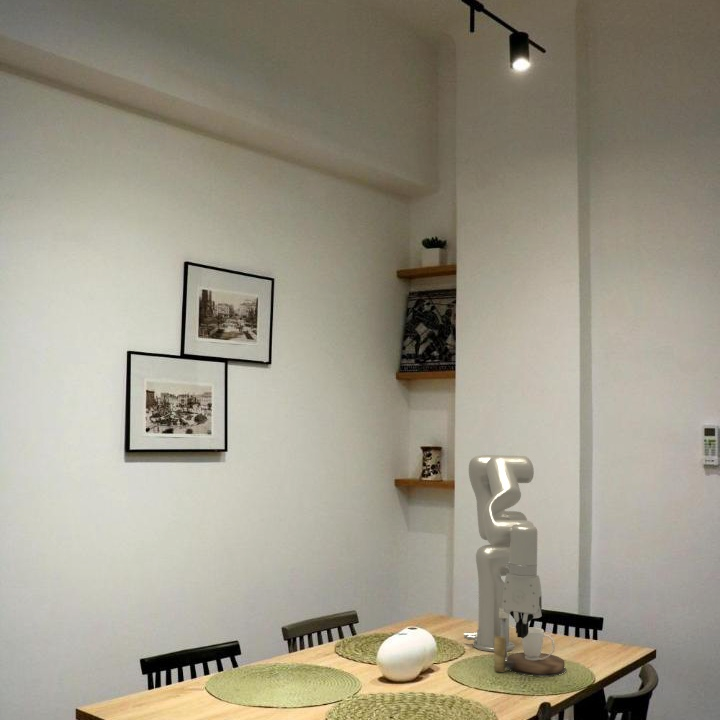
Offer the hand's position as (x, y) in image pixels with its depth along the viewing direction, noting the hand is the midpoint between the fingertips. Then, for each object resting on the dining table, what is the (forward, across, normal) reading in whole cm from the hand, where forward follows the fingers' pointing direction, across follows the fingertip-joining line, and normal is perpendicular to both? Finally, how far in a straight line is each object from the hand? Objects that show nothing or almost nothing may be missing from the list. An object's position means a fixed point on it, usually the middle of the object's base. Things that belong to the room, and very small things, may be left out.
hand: (522, 636), depth 236 cm
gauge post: (+12, -11, +14) cm, 21 cm away
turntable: (+11, -1, +8) cm, 13 cm away
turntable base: (+11, 0, +10) cm, 15 cm away
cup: (+9, +1, +10) cm, 13 cm away
